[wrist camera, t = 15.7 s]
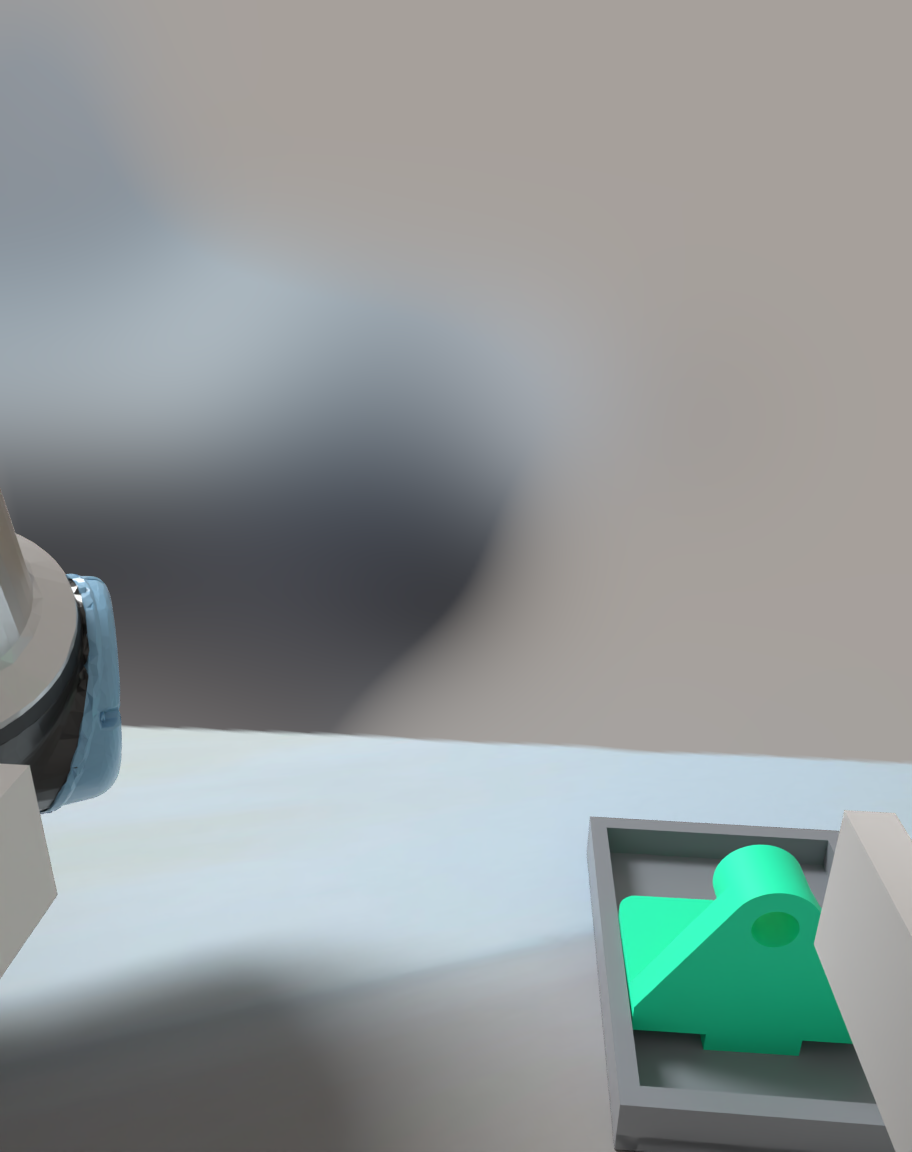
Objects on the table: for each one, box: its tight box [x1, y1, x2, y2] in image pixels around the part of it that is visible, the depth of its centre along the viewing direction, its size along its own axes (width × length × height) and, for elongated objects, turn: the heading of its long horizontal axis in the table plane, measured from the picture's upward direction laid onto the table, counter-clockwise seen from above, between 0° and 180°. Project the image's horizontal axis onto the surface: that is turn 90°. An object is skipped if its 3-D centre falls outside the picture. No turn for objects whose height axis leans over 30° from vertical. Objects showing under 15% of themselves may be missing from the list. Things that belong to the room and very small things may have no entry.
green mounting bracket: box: [618, 845, 853, 1056], centre depth 45 cm, size 12×8×10 cm, turn 86°
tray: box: [587, 817, 895, 1152], centre depth 48 cm, size 16×20×3 cm
